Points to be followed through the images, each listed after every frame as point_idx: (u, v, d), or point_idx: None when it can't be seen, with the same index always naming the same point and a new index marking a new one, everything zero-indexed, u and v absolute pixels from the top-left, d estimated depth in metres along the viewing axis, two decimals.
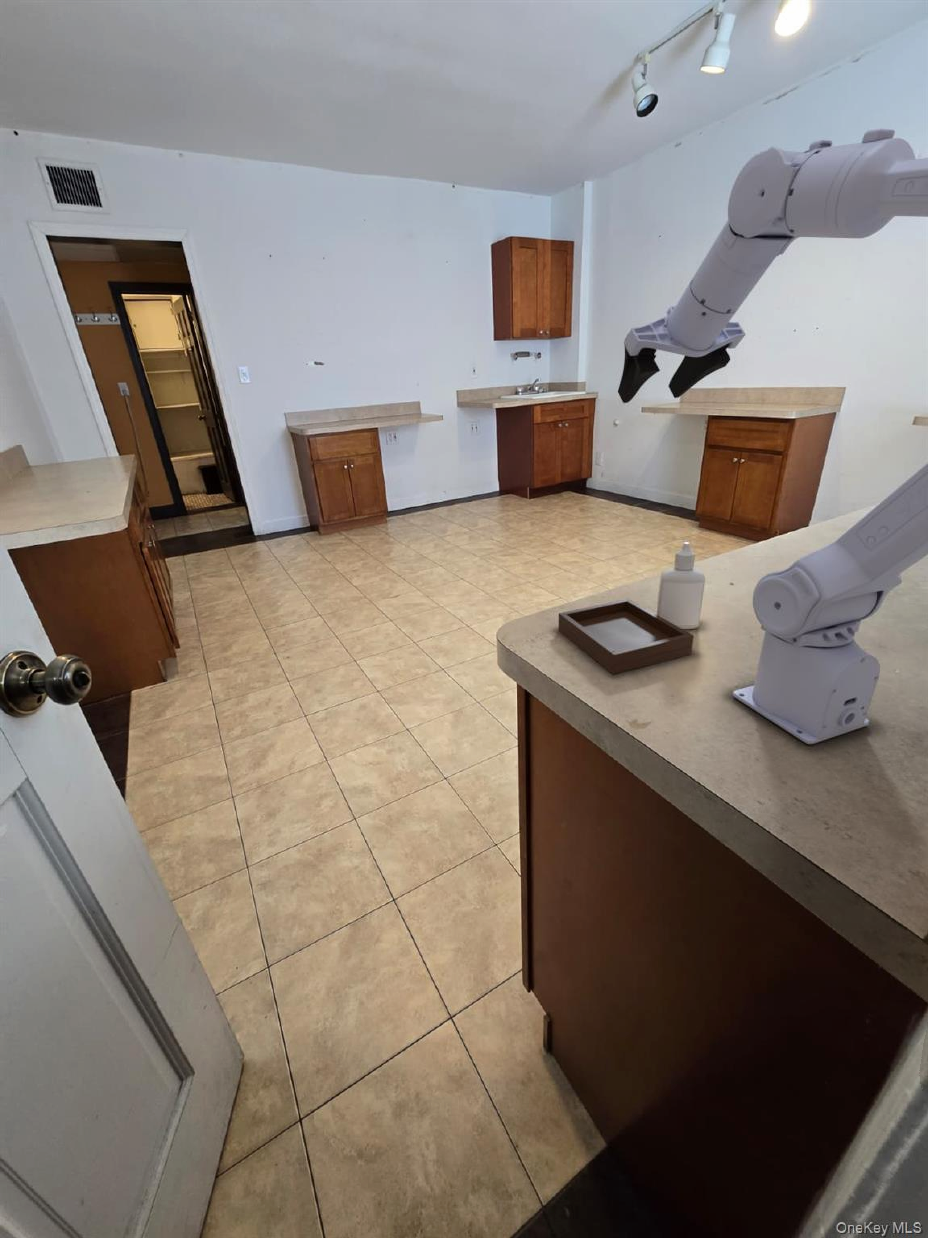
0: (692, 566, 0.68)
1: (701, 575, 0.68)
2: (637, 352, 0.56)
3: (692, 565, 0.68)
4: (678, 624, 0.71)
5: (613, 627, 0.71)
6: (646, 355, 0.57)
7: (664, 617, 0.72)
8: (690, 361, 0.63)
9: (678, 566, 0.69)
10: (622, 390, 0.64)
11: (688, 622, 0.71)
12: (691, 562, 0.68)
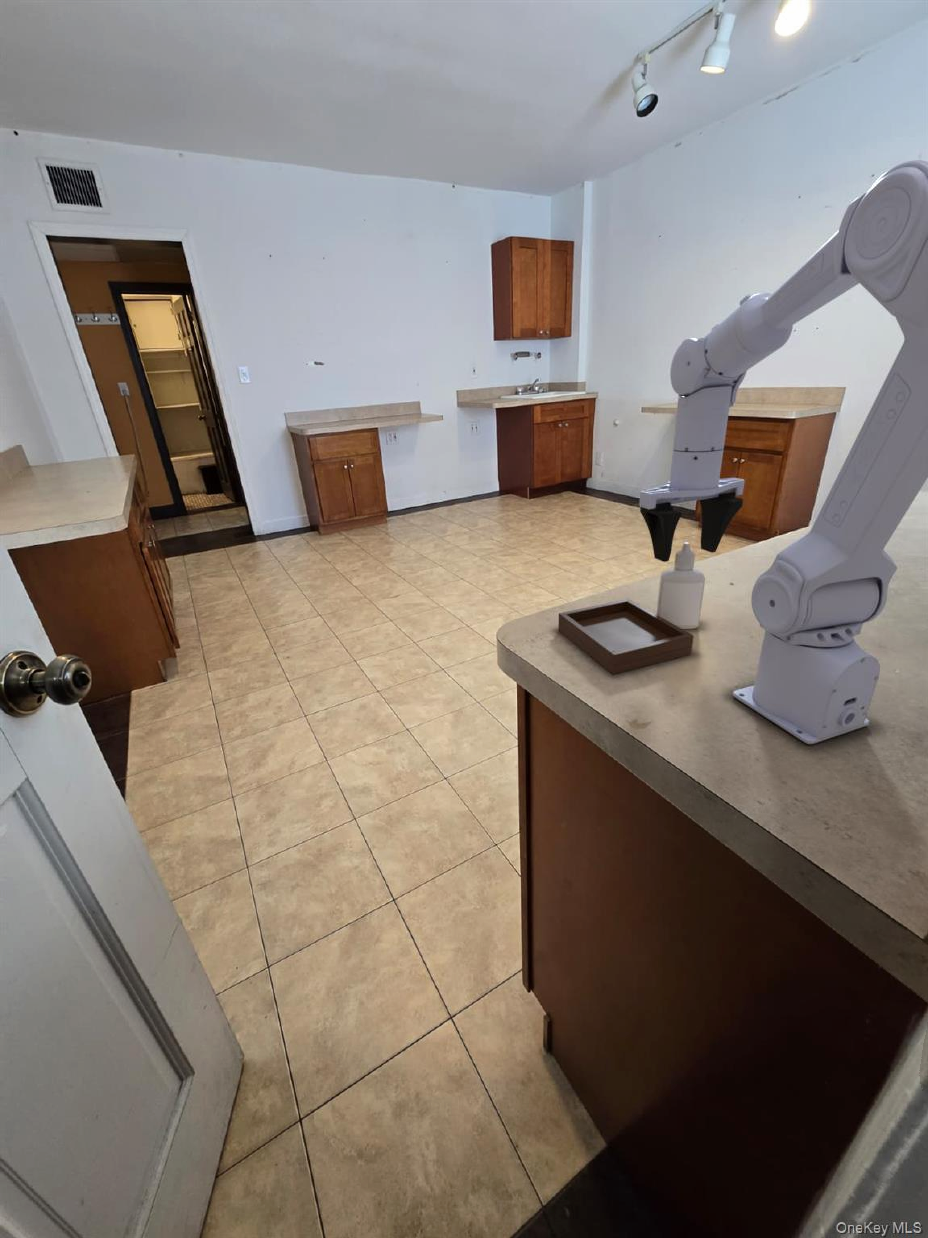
0: (692, 566, 0.68)
1: (701, 575, 0.68)
2: (654, 505, 0.63)
3: (692, 565, 0.68)
4: (678, 624, 0.71)
5: (613, 627, 0.71)
6: (663, 508, 0.64)
7: (664, 617, 0.72)
8: (709, 518, 0.68)
9: (678, 566, 0.69)
10: (658, 553, 0.67)
11: (688, 622, 0.71)
12: (691, 562, 0.68)
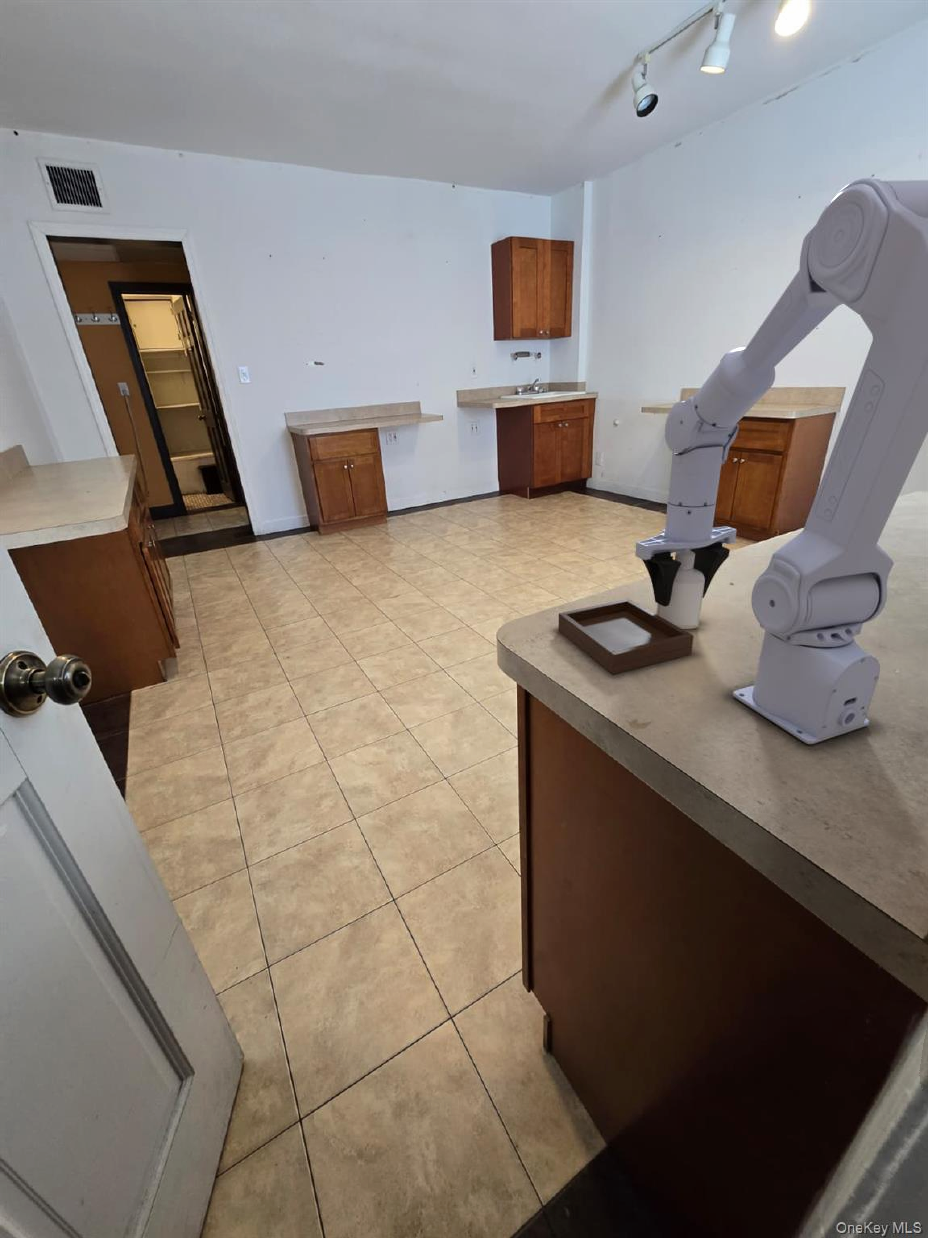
0: (692, 566, 0.68)
1: (701, 575, 0.68)
2: (649, 556, 0.66)
3: (692, 565, 0.68)
4: (678, 624, 0.71)
5: (613, 627, 0.71)
6: (664, 557, 0.66)
7: (664, 617, 0.72)
8: (697, 565, 0.71)
9: None
10: (658, 597, 0.70)
11: (688, 622, 0.71)
12: (691, 562, 0.68)
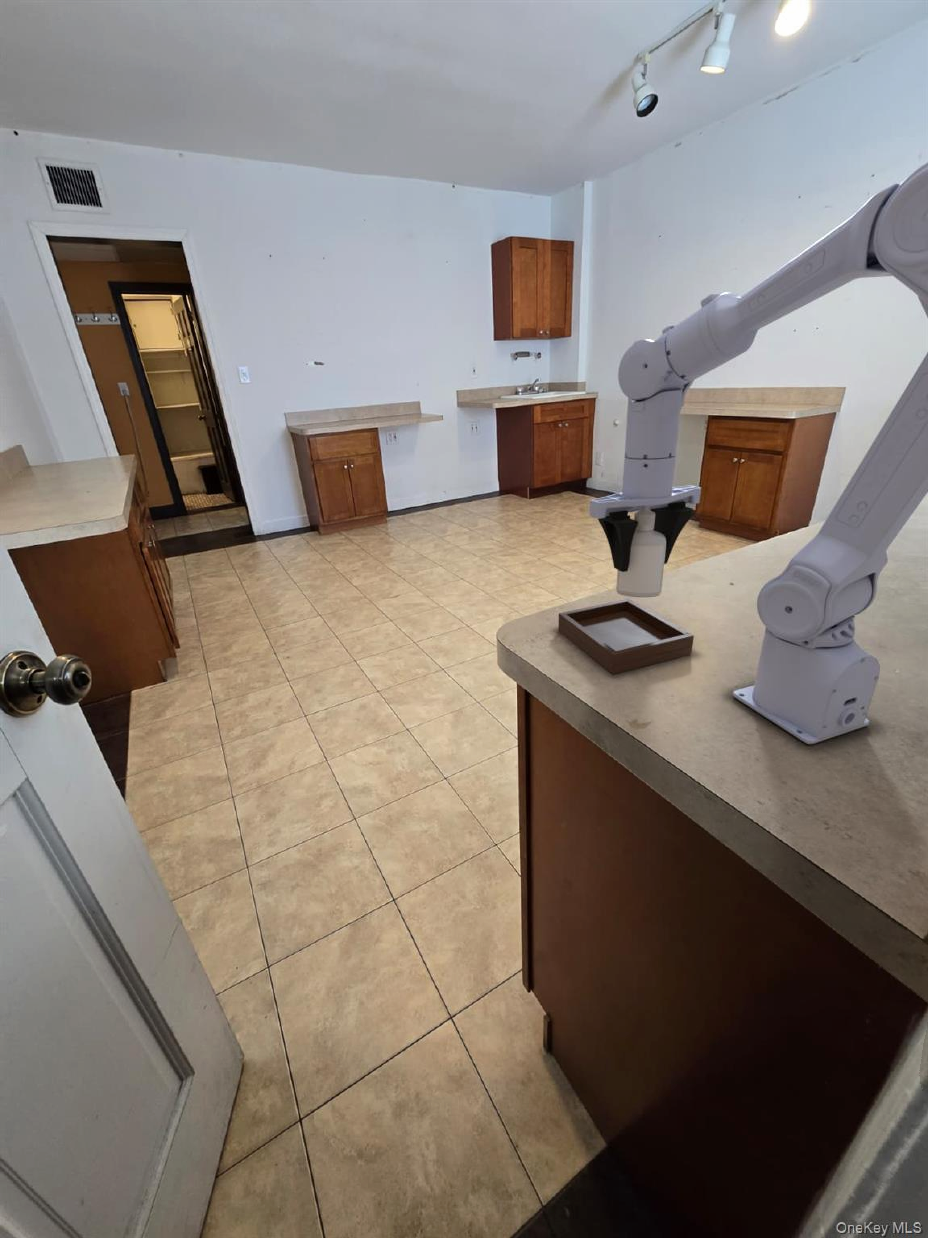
0: (652, 527, 0.63)
1: (662, 537, 0.63)
2: (603, 514, 0.60)
3: (652, 526, 0.63)
4: (638, 592, 0.66)
5: (613, 627, 0.71)
6: (620, 516, 0.61)
7: (623, 584, 0.66)
8: (659, 528, 0.65)
9: (637, 527, 0.63)
10: (617, 562, 0.65)
11: (649, 589, 0.65)
12: (651, 523, 0.63)
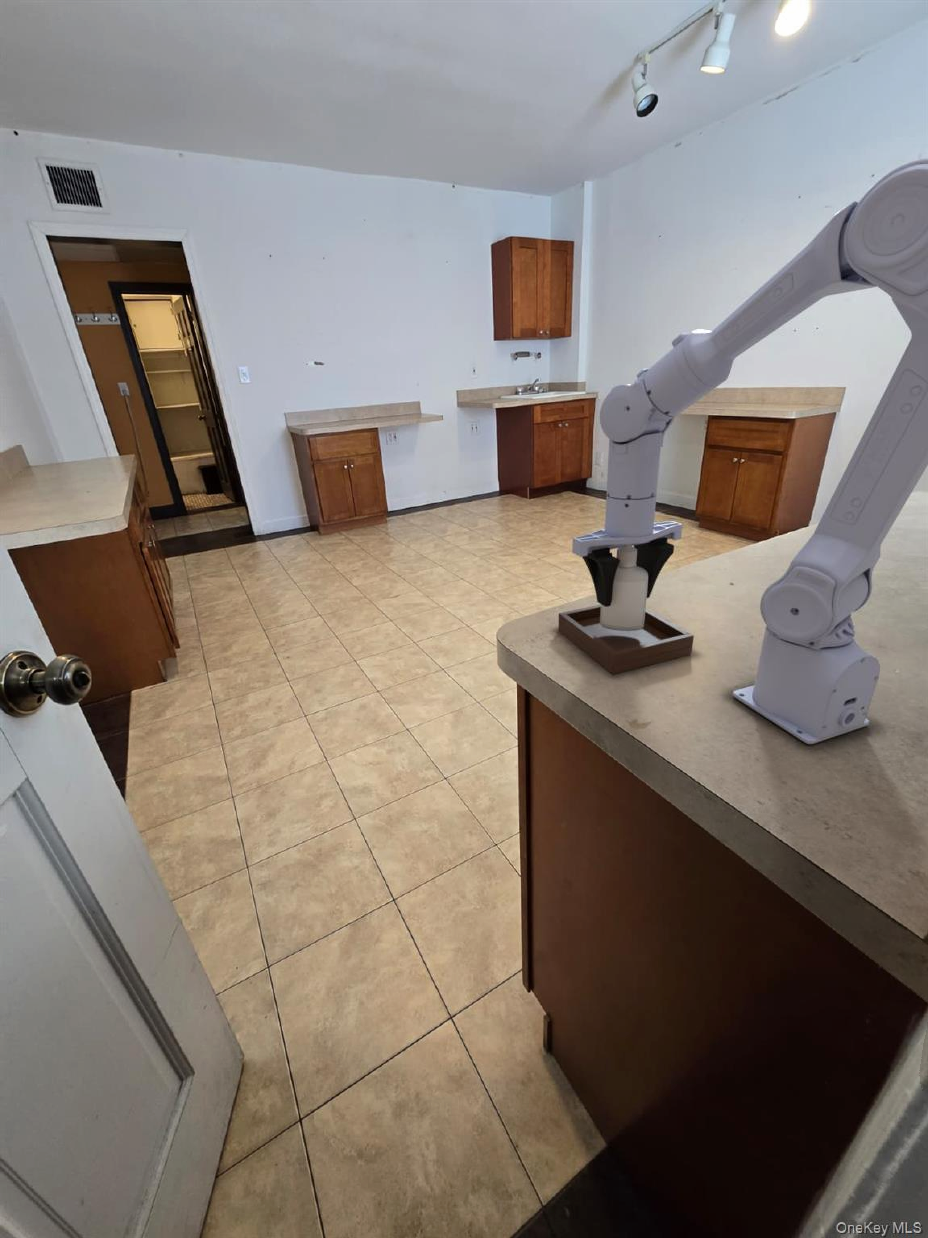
0: (634, 563, 0.64)
1: (644, 573, 0.64)
2: (586, 552, 0.61)
3: (634, 562, 0.64)
4: (621, 625, 0.67)
5: None
6: (602, 554, 0.62)
7: (607, 618, 0.67)
8: (642, 563, 0.66)
9: (619, 563, 0.64)
10: (600, 597, 0.66)
11: (632, 623, 0.66)
12: (632, 559, 0.63)
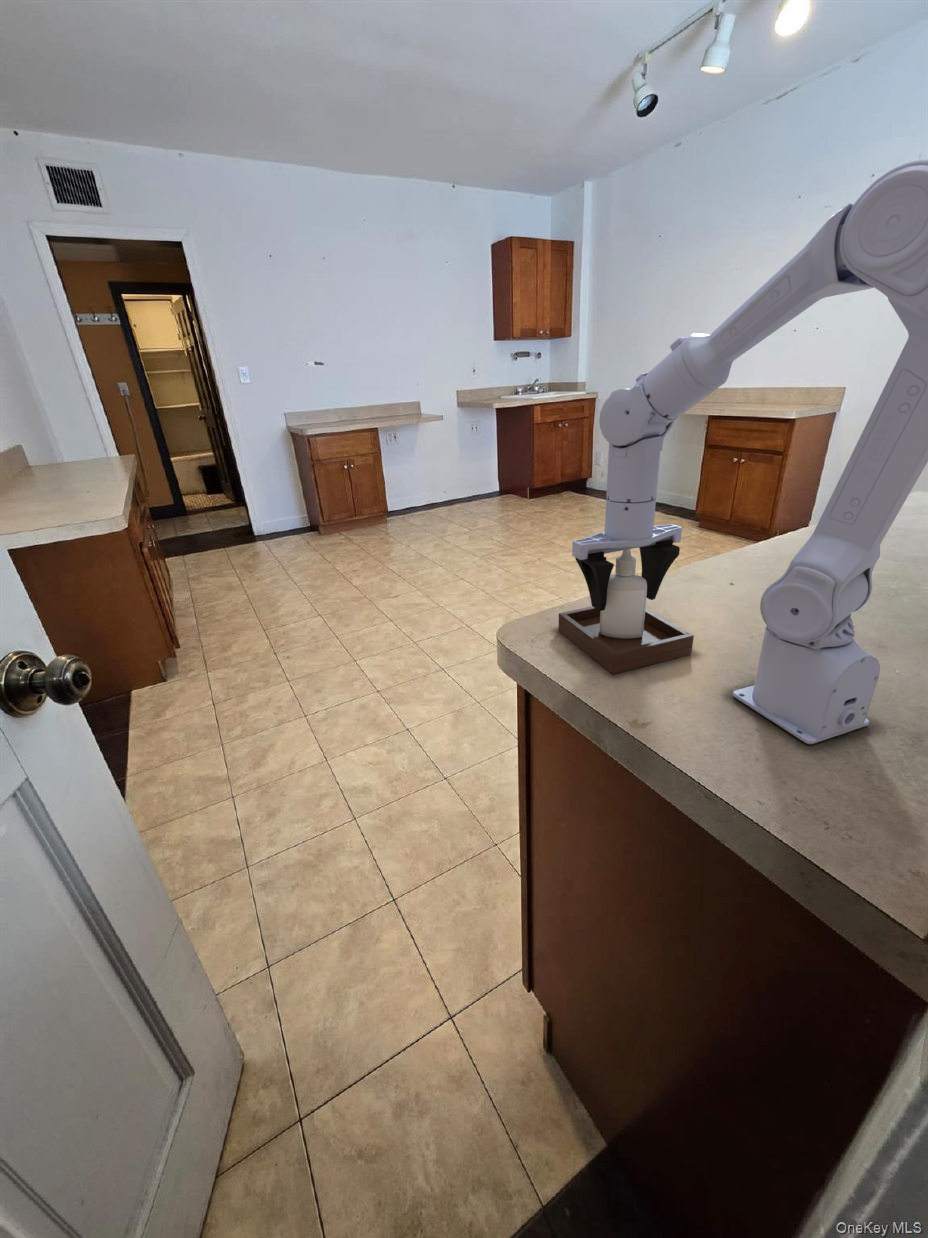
0: (633, 572, 0.64)
1: (643, 582, 0.64)
2: (585, 556, 0.61)
3: (633, 571, 0.64)
4: (621, 633, 0.67)
5: None
6: (596, 558, 0.62)
7: (606, 626, 0.68)
8: (647, 565, 0.67)
9: (618, 572, 0.65)
10: (594, 601, 0.66)
11: (631, 631, 0.67)
12: (632, 568, 0.64)
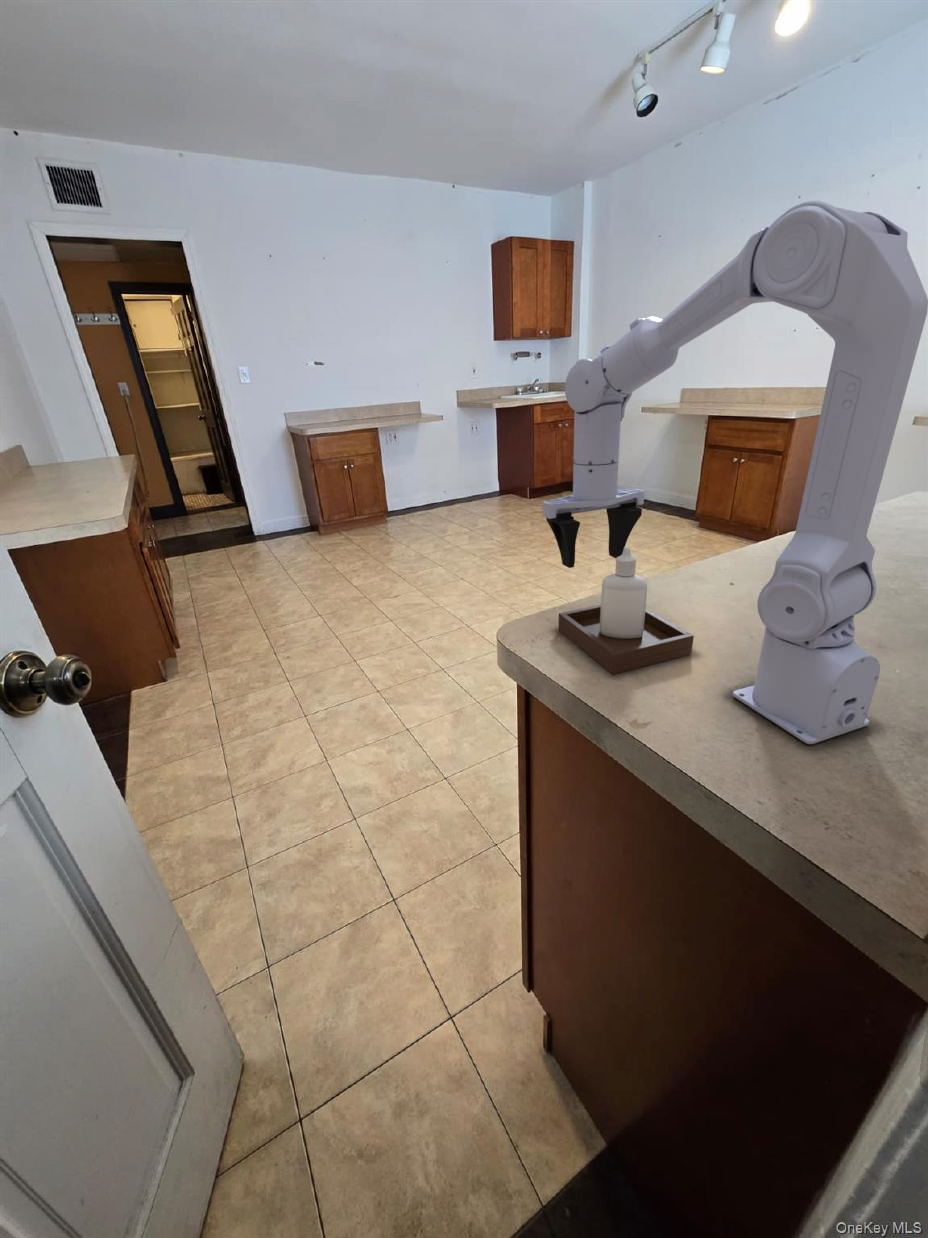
0: (633, 572, 0.64)
1: (643, 582, 0.64)
2: (554, 515, 0.67)
3: (633, 571, 0.64)
4: (621, 633, 0.67)
5: None
6: (564, 517, 0.67)
7: (606, 626, 0.68)
8: (614, 526, 0.72)
9: (618, 572, 0.65)
10: (564, 559, 0.71)
11: (631, 631, 0.67)
12: (632, 568, 0.64)
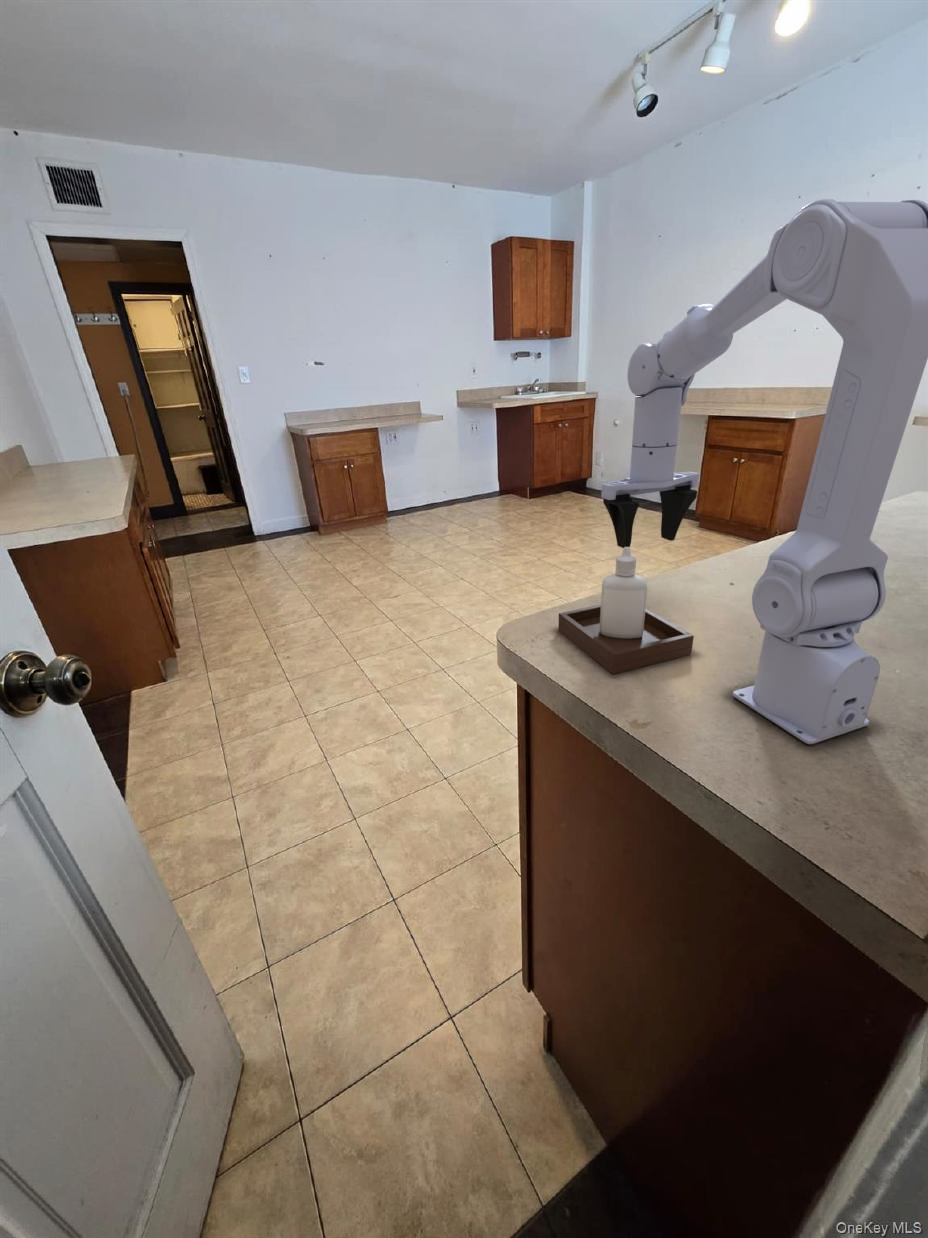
0: (633, 572, 0.64)
1: (643, 582, 0.64)
2: (614, 496, 0.69)
3: (633, 571, 0.64)
4: (621, 633, 0.67)
5: None
6: (623, 499, 0.69)
7: (606, 626, 0.68)
8: (667, 509, 0.74)
9: (618, 572, 0.65)
10: (620, 540, 0.73)
11: (631, 631, 0.67)
12: (632, 568, 0.64)
